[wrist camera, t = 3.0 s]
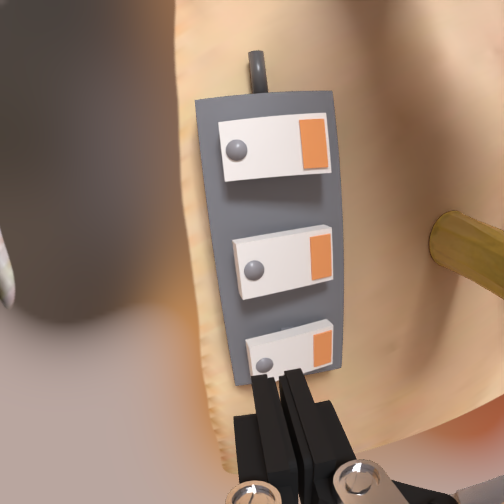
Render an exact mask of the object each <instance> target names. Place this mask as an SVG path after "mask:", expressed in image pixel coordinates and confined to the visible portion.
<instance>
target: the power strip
mask: <svg viewBox="0 0 504 504" xmlns="http://www.w3.org/2000/svg"><path fill="white" fill-rule="evenodd" d="M248 56H249V64H250V73H251V81H252V90H253V94H244V95H234V96H224V97H216V98H208V99H200V100H195V107H196V117H197V126H198V135H199V144H200V152H201V160H202V169H203V177H204V185H205V192H206V200H207V208H208V215H209V222H210V230H211V237H212V244H213V251H214V258H215V264H216V271H217V278H218V284H219V291H220V297H221V303H222V309H223V316H224V322H225V328H226V334H227V340H228V346H229V351H230V357H231V363H232V368H233V374H234V380H235V385H236V386H239V385H247V384H252V382H251V377H250V370H249V363H248V356H247V348H246V341H245V340H246V339H250V338H254V337H258V336H263V335H267V334H271V333H275V332H279V331H283V330H287V329H291V328H294V327H298V326H302V325H306V324H309V323H313V322H317V321H320V320H324V319H327V320H328V321H330V322H331V323H332V324H333V362H332V364H331V365H328V366H325V367H322V368H319V369H316V370H312V371H309V372H306V373H303V375H308V374H314V373H319V372H324V371H329V370H333V369H338V368H341V366H342V345H343V312H344V249H343V216H342V195H341V178H340V164H339V151H338V139H337V129H336V119H335V109H334V101H333V92H332V91H292V92H271V93H268V86H267V78H266V69H265V61H264V53H263V51H251V52H249V53H248ZM309 113H326V117H327V126H328V137H329V148H330V160H331V173H320V174H305V175H291V176H279V177H267V178H256V179H246V180H236V181H227V182H225V178H224V169H223V161H222V152H221V143H220V134H219V125H218V122H224V121H232V120H240V119H249V118H258V117H268V116H280V115H293V114H309ZM323 224H324V225H327V226H329V227H332V246H333V280H329V281H325V282H321V283H316V284H312V285H308V286H304V287H299V288H295V289H291V290H286V291H282V292H277V293H273V294H268V295H264V296H259V297H255V298H250V299H245V300H243V299H242V297H241V296H240V294H239V290H238V282H237V274H236V267H235V259H234V251H233V243H232V240H235V239H241V238H247V237H253V236H258V235H264V234H270V233H276V232H282V231H288V230H293V229H299V228H305V227H311V226H317V225H323Z"/></svg>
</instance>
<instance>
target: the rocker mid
mask: <svg viewBox="0 0 504 504" xmlns="http://www.w3.org/2000/svg"><path fill="white" fill-rule="evenodd" d="M232 243H233V251H234V259H235V267H236V274H237V282H238V290H239V294H240V296H241V297H242V299H243V300H245V299H250V298H255V297H259V296H264V295H268V294H273V293H277V292H282V291H286V290H291V289H295V288H299V287H304V286H308V285H312V284H316V283H321V282H325V281H329V280H333V246H332V227H329V226H327V225H324V224H323V225H317V226H311V227H305V228H299V229H293V230H288V231H282V232H276V233H270V234H264V235H258V236H253V237H247V238H241V239H235V240H232Z"/></svg>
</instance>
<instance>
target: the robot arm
mask: <svg viewBox="0 0 504 504" xmlns="http://www.w3.org/2000/svg"><path fill="white" fill-rule="evenodd" d="M251 382H252V389H253V396H254V402H255V409H256V414H250V415H242V416H234V431H235V442H236V453H237V463H238V474H239V483H240V484H238V485H237V486H235V487H234V488H233V489H232V490H231V491H230V492H229V493H228V495H227V498H226V501H225V504H298V493H299V497H300V501H301V504H504V475H502V476H499V477H496V478H493V479H491V480H488V481H485V482H482V483H480V484H476V485H473V486H470V487H467V488H464V489H460V490H457V491H456V493H454V494H451V495H447V494H445V493H440V492H436V491H432V490H427V489H423V488H419V487H415V486H411V485H408V484H404V483H401V482H397V481H394V480H391V479H390V478H389V477H388V475H387V474H386V473H385V471H384V470H383V468H381V467H380V466H379V465H378V464H377V463H375V462H373V461H370V460H364V459H359V460H357V459H356V457H355V454H354V452H353V450H352V448H351V445H350V443H349V441H348V439H347V436H346V434H345V432H344V430H343V428H342V425H341V423H340V421H339V419H338V416H337V414H336V412H335V410H334V407H333V405H332V403H331V402H330V401H329V400H328V401H323V402H319V403H314V400H313V398H312V395H311V393H310V390H309V387H308V385H307V382H306V380H305V377H304V375H303V372H302V370H301V368H298V369H292V370H287V371H284V375H282V376H279V388H280V398H279V394H278V390H277V387H276V383H275V379H274V377H270V378H268V376H267V374H262V375H255V376H251ZM280 400H281V402H280Z"/></svg>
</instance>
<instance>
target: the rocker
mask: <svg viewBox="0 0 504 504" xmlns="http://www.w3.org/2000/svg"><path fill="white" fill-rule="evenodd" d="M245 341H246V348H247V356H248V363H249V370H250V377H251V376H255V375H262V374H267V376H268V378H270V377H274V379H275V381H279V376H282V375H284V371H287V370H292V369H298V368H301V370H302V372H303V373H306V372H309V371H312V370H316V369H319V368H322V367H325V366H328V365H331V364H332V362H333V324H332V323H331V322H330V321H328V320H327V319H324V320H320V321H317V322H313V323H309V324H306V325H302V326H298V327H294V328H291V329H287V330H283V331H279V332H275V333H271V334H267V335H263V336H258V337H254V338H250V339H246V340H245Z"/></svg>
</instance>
